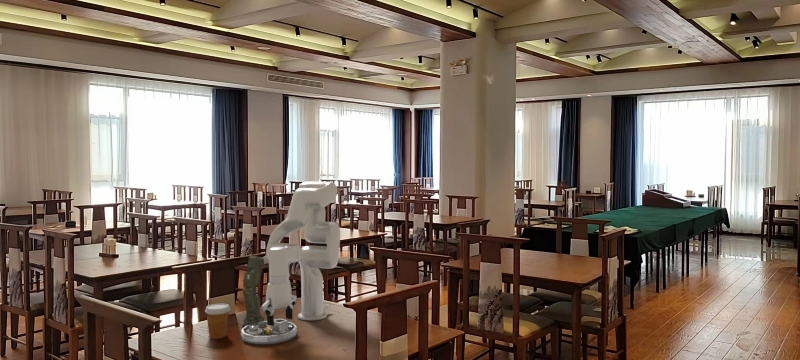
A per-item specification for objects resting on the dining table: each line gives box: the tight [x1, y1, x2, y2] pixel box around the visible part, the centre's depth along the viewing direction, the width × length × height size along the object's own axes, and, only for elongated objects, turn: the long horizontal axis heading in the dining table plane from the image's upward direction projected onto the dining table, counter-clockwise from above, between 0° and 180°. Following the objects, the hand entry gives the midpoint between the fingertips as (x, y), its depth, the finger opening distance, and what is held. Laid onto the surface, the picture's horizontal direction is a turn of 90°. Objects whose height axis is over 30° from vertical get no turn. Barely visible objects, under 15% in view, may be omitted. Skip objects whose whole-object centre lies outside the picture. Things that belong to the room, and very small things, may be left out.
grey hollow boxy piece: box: [272, 318, 289, 335], centre depth 229 cm, size 6×6×6 cm
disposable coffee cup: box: [204, 303, 231, 339], centre depth 233 cm, size 10×10×12 cm
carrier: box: [240, 318, 298, 346], centre depth 232 cm, size 21×21×5 cm
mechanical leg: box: [241, 255, 265, 329], centre depth 249 cm, size 14×7×30 cm, turn 168°
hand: (280, 321), depth 229 cm, fingers open, 9 cm apart
